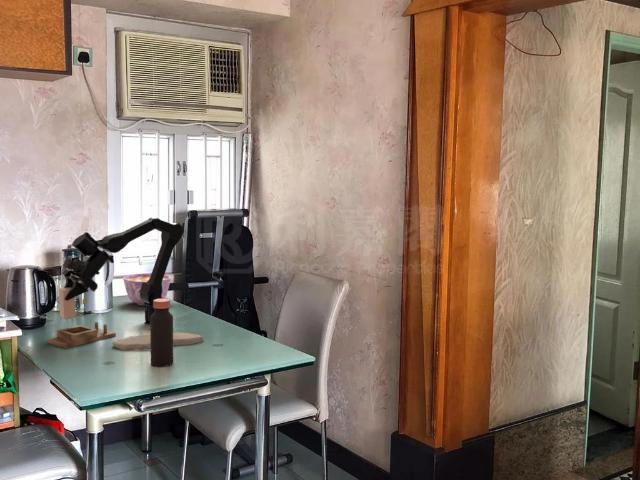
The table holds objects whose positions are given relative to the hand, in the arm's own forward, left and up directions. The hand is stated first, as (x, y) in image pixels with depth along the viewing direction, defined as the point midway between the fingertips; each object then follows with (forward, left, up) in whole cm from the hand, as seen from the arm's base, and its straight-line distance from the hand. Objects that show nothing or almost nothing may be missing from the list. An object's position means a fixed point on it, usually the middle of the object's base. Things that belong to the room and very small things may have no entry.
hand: (63, 298), depth 233 cm
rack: (-8, +2, -13) cm, 16 cm away
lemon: (+8, -38, -14) cm, 41 cm away
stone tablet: (-34, 0, -14) cm, 36 cm away
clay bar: (-1, -1, -7) cm, 7 cm away
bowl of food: (-9, -57, -14) cm, 60 cm away
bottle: (-44, +24, -14) cm, 52 cm away
